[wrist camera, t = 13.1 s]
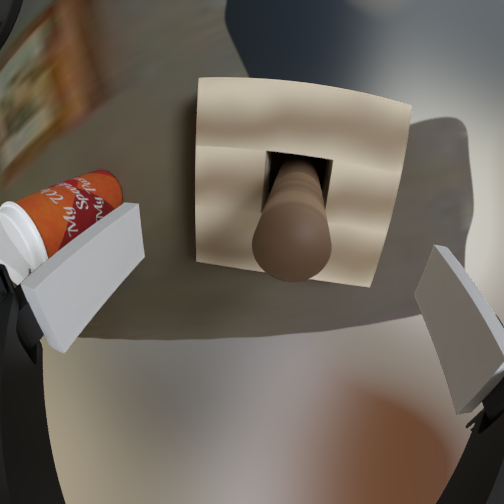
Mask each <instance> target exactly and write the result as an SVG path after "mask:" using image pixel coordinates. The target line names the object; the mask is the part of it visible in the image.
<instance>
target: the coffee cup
mask: <svg viewBox="0 0 504 504" xmlns="http://www.w3.org/2000/svg"><path fill="white" fill-rule="evenodd" d="M122 201H123V195H122V189H121V186H120V184H119V182H118V180H117V179H116V178H115V177H114V176H113V175H112V174H111V173H110V172H108V171H105V170H97V171H93V172H90V173H87V174H84V175H81V176H78V177H75V178H72V179H69V180H67V181H64V182H61V183H59V184H56V185H53V186H51V187H48V188H46V189H43V190H41V191H39V192H36V193H34V194H31V195H29V196H27V197H25V198H22V199H20V200H18V201H16V202H10V201H8V202H5V203H4V204H2V206H1V207H0V264H3V265H5V266H6V268H7V271H8V273H9V276H10V279H11V280H12V281H13V282H14V283H16V284H17V285H19V284H20V283H21V282H22V281H23V280H24V279H25V278H26V277H28V276H29V275H30V274H31V273H32V272H33V271H34V270H36V269H37V268H38V267H39V266H40V265H41V264H43V263H44V262H46V260H47V259H49V258H50V257H51V256H52V255H54V254H55V253H57V252H58V251H59V250H60V249H62V248H63V247H64V246H65V245H67V244H68V243H69V242H71V241H72V240H73V239H74V238H76V237H77V236H78V235H80V234H81V233H82V232H84V231H85V230H86V229H88V228H89V227H91V226H92V225H93V224H95V223H96V222H97V221H99V220H100V219H102V218H103V217H105V216H106V215H107V214H109V213H110V212H112V211H113V210H115V209H116V208H118V207H119V206H121V205H122Z"/></svg>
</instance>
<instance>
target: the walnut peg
mask: <svg viewBox="0 0 504 504" xmlns="http://www.w3.org/2000/svg"><path fill="white" fill-rule="evenodd" d="M331 250H332V244H331V237H330V232H329V226H328V221H327V216H326V211H325V206H324V201H323V196H322V191H321V186H320V182H319V177H318V173H317V169H316V166H315V164H314V163H313V162H312V161H311V160H310V159H309V158H307V157H305V156H301V155H294V156H291V157H289V158H287V159H286V160H285V161H284V162H283V163H282V165H281V167H280V170H279V172H278V175H277V177H276V180H275V182H274V185H273V187H272V190H271V192H270V195H269V197H268V200H267V202H266V205H265V207H264V210H263V212H262V215H261V217H260V220H259V222H258V225H257V227H256V230H255V232H254V235H253V239H252V251H253V255H254V258H255V260H256V262H257V263H258V265H259V266H260V267H261V269H262V270H264V271H265V272H266V273H267V274H269V275H270V276H272V277H274V278H276V279H279V280H282V281H288V282H297V281H303V280H307V279H309V278H312V277H313V276H315V275H317V274H318V273H319V272H320V271H322V270H323V268H324V267H325V266H326V264H327V263H328V261H329V259H330V255H331Z"/></svg>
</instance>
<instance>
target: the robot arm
mask: <svg viewBox="0 0 504 504" xmlns="http://www.w3.org/2000/svg"><path fill="white" fill-rule="evenodd" d="M21 3H22V0H0V48H1V46H2V45H3V44H4V42H5V40H6V39H7V37H8V35H9V33H10V31H11V29H12V27H13V25H14V23H15V20H16V18H17V15H18V13H19V10H20V7H21ZM144 257H145V255H144V247H143V239H142V231H141V222H140V212H139V204H136V203H124V204H122V205H121V206H119V207H118V208H116V209H115V210H113V211H112V212H110V213H109V214H107V215H106V216H105V217H103V218H102V219H100V220H99V221H97V222H96V223H95V224H93V225H92V226H91V227H89V228H88V229H86V230H85V231H84V232H82V233H81V234H80V235H78V236H77V237H76V238H74V239H73V240H72V241H71V242H69V243H68V244H67V245H65V246H64V247H63V248H62V249H60V250H59V251H58V252H57V253H55V254H54V255H52V256H51V257H50V258H49V259H47V260H46V262H44V263H43V264H41V265H40V266H39V267H38V268H37V269H36V270H34V271H33V272H32V273H31V274H30V275H29V276H28V277H26V278H25V279H24V280H23V281H22V282H21V283H20V284H19V285H18V286H16V287H15V288H14V286H13V284H12V281H11V279H10V276H9V273H8V271H7V268H6V266H5V265H3V264H0V504H65V500H64V497H63V494H62V491H61V487H60V484H59V481H58V476H57V472H56V468H55V464H54V459H53V455H52V450H51V444H50V439H49V432H48V425H47V418H46V409H45V400H44V386H43V357H42V356H43V355H42V354H43V353H42V352H43V349H42V344H41V342H40V339H41V338H42V336H43V335H44V336H45V338H46V340H47V342H48V344H49V346H50V347H51V348H53V349H55V350H57V351H60V352H61V353H63V354H64V353H65V352H66V351H67V350H68V348H69V347H70V346H71V344H72V343H73V342H74V340H75V339H76V338H77V337H78V335H79V334H80V333H81V331H82V330H83V329H84V328H85V326H86V325H87V324H88V323H89V321H90V320H91V319H92V318H93V316H94V315H95V314H96V313H97V311H98V310H99V309H100V308H101V307H102V305H103V304H104V303H105V302H106V301H107V299H108V298H109V297H110V296H111V295H112V293H113V292H114V291H115V290H116V289H117V288H118V286H119V285H120V284H121V283H122V282H123V281H124V280H125V278H126V277H127V276H128V275H129V274H130V273H131V272H132V270H133V269H134V268H135V267H136V266H137V265H138V264H139V263H140V262H141V260H142V259H143V258H144ZM414 297H415V300H416V302H417V304H418V306H419V309H420V311H421V313H422V316H423V318H424V320H425V323H426V325H427V328H428V330H429V333H430V336H431V338H432V341H433V343H434V346H435V349H436V351H437V354H438V357H439V360H440V363H441V366H442V369H443V371H444V375H445V378H446V381H447V384H448V387H449V390H450V394H451V397H452V401H453V405H454V408H455V412H456V415H457V414H463V413H469V412H472V411H473V410H474V409H475V408H476V407H477V406H478V405H479V404H480V403H481V402H482V403H483V406H484V409H483V410H482V411H480V412H479V413H478V414H477V416H475V417H474V418H473V419H472V420H471V421H470V422H469V423H468V424H467V425H466V428H468V427H469V426H471V425H472V424H473V423H475V425H474V427H473V428H472V429H471V431H472V433H471V435H470V438H469V440H468V443H467V445H466V447H465V450H464V452H463V454H462V456H461V458H460V461H459V463H458V465H457V467H456V469H455V471H454V473H453V475H452V477H451V478H450V480H449V482H448V484H447V486H446V488H445V489H444V491H443V493H442V495H441V497H440V498H439V500H438V501H437V503H436V504H504V326H503V324H502V323H501V321H500V319H499V318H498V317H497V315H496V314H495V313H494V312H493V310H492V309H491V307H490V305H489V304H488V302H487V301H486V299H485V298H484V296H483V295H482V293H481V292H480V291H479V289H478V288H477V286H476V285H475V283H474V282H473V281H472V279H471V278H470V277H469V275H468V274H467V273H466V271H465V270H464V268H463V267H462V266H461V264H460V263H459V262H458V260H457V259H456V258H455V257H454V255H453V254H452V253H451V252H450V250H449V249H448V248H447V247H443V246H438V245H434V246H433V248H432V251H431V254H430V257H429V259H428V262H427V264H426V267H425V270H424V272H423V275H422V277H421V279H420V282H419V284H418V286H417V289H416V291H415V293H414Z"/></svg>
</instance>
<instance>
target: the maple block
mask: <svg viewBox="0 0 504 504" xmlns="http://www.w3.org/2000/svg"><path fill="white" fill-rule="evenodd" d="M411 111H412V106H411V105H408V104H405V103H402V102H398V101H394V100H390V99H387V98H383V97H379V96H375V95H371V94H367V93H362V92H357V91H352V90H347V89H342V88H337V87H331V86H324V85H318V84H311V83H304V82H295V81H285V80H274V79H258V78H231V77H213V78H199V83H198V101H197V123H196V159H195V225H196V262H202V263H208V264H215V265H221V266H227V267H234V268H240V269H246V270H253V271H259V272H265V271H264V270H262V269H261V267H260V266H259V265H258V263H257V262H256V260H255V258H254V255H253V251H252V239H253V235H254V232H255V230H256V227H257V225H258V222H259V220H260V217H261V215H262V212H263V210H264V207H265V205H266V202H267V200H268V197H269V195H268V192H269V182H270V171H271V160H272V151H274V152H282V153H290V154H298V155H305V156H312V157H318V158H325V159H327V160H326V167H325V174H324V181H323V187H322V196H323V201H324V206H325V211H326V216H327V221H328V226H329V232H330V237H331V244H332V250H331V255H330V259H329V261H328V263H327V264H326V266H325V267H324V268H323V270H322V271H320V272H319V273H318V274H317V275H315V276H313V277H312V278H309V279H314V280H321V281H328V282H335V283H342V284H349V285H357V286H364V287H370V285H371V282H372V280H373V277H374V274H375V271H376V267H377V264H378V261H379V258H380V255H381V252H382V248H383V245H384V241H385V238H386V234H387V231H388V227H389V224H390V220H391V216H392V212H393V208H394V204H395V200H396V196H397V191H398V187H399V182H400V177H401V173H402V168H403V162H404V157H405V151H406V146H407V140H408V133H409V126H410V119H411Z"/></svg>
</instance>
